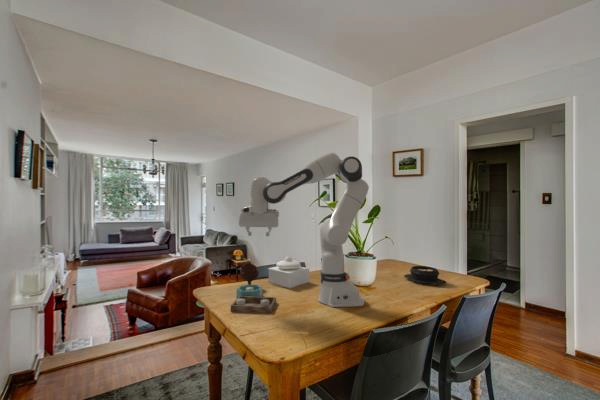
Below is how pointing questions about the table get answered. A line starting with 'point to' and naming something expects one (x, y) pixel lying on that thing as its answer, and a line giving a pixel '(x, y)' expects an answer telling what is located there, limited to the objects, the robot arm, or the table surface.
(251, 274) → the ice cream bowl
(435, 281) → the black hat
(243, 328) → the table surface
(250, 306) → the tray
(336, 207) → the robot arm
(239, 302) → the pebble
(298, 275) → the butter dish
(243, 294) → the bowl
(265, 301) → the pebble
